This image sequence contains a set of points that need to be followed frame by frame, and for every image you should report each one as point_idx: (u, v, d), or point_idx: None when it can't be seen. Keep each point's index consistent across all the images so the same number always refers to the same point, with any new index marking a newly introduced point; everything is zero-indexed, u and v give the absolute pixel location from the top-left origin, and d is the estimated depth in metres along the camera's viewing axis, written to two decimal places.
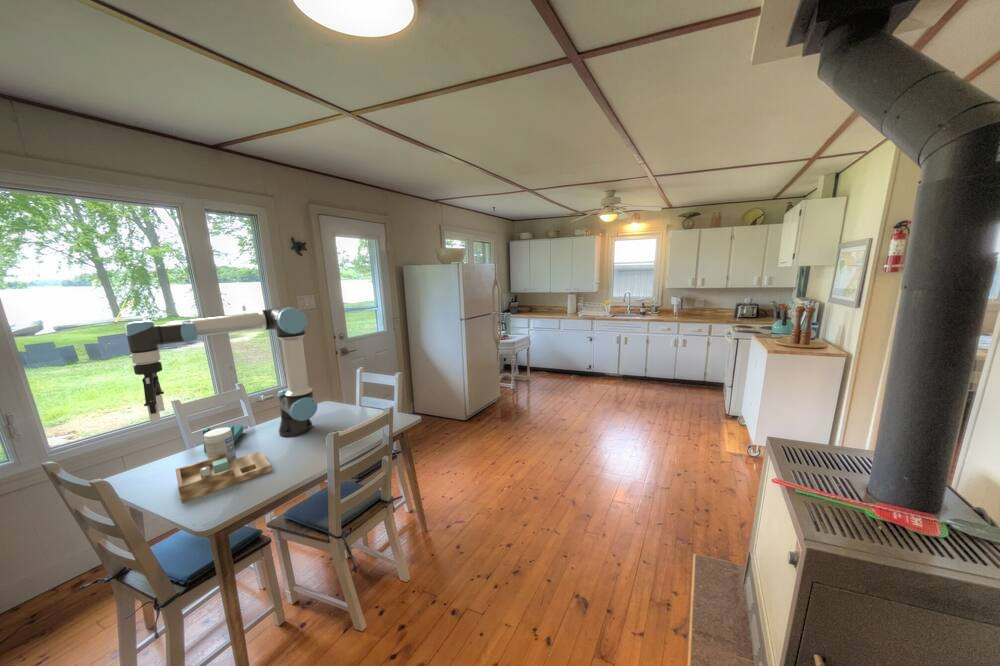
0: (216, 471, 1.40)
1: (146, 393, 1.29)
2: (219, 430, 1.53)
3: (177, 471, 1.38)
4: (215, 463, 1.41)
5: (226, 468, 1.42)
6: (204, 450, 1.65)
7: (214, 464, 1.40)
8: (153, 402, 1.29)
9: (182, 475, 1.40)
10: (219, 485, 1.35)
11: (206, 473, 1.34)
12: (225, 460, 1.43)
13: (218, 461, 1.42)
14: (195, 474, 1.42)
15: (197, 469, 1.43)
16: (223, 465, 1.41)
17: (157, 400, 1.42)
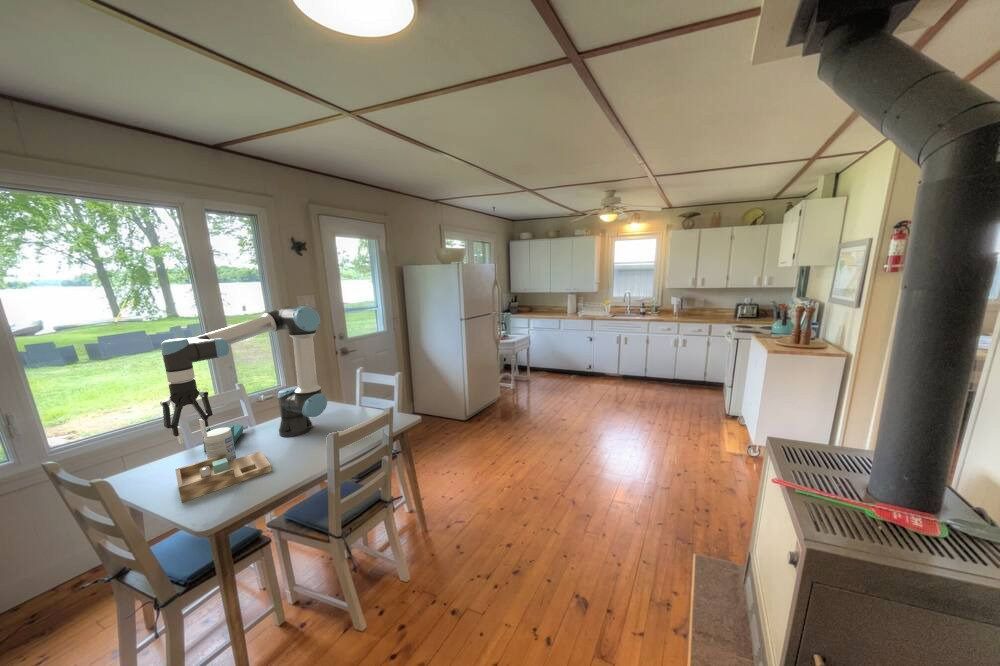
0: (216, 471, 1.40)
1: (163, 416, 1.28)
2: (219, 430, 1.53)
3: (177, 471, 1.38)
4: (215, 463, 1.41)
5: (226, 468, 1.42)
6: (204, 450, 1.65)
7: (214, 464, 1.40)
8: (166, 426, 1.28)
9: (182, 475, 1.40)
10: (219, 485, 1.35)
11: (206, 473, 1.34)
12: (225, 460, 1.43)
13: (218, 461, 1.42)
14: (195, 474, 1.42)
15: (197, 469, 1.43)
16: (223, 465, 1.41)
17: (201, 424, 1.37)
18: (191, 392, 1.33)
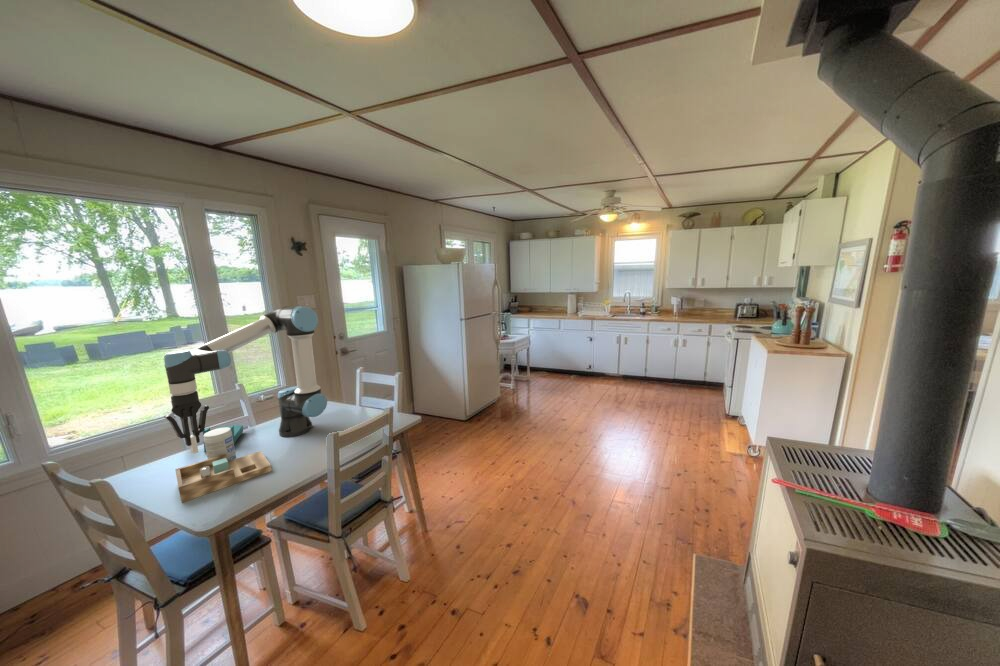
0: (216, 471, 1.40)
1: (173, 428, 1.31)
2: (219, 430, 1.53)
3: (177, 471, 1.38)
4: (215, 463, 1.41)
5: (226, 468, 1.42)
6: (204, 450, 1.65)
7: (214, 464, 1.40)
8: (179, 436, 1.31)
9: (182, 475, 1.40)
10: (219, 485, 1.35)
11: (206, 473, 1.34)
12: (225, 460, 1.43)
13: (218, 461, 1.42)
14: (195, 474, 1.42)
15: (197, 469, 1.43)
16: (223, 465, 1.41)
17: None
18: (194, 402, 1.34)
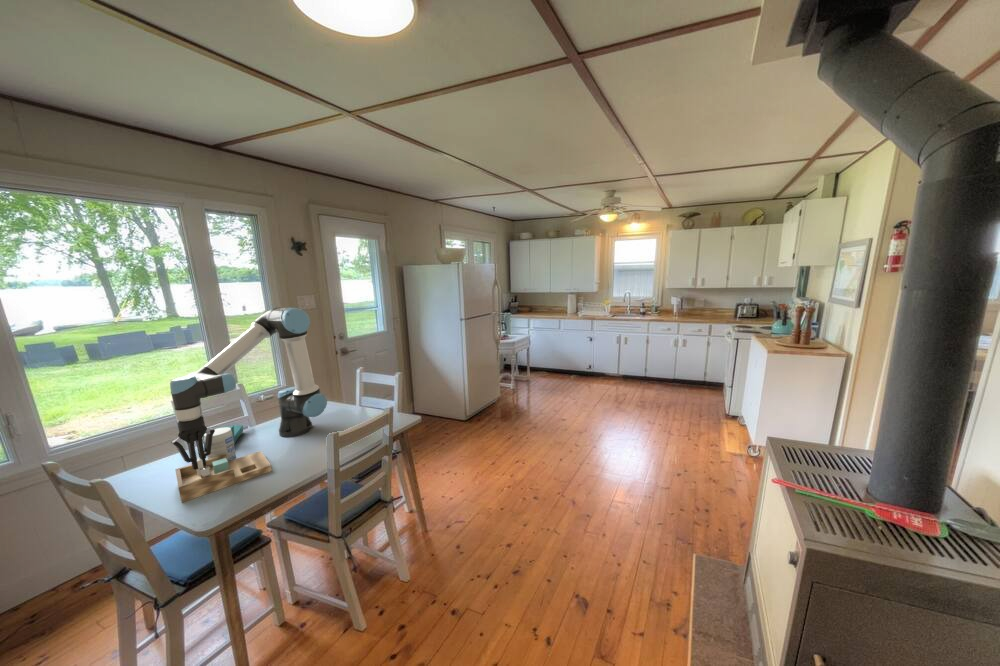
0: (216, 471, 1.40)
1: (180, 453, 1.33)
2: (219, 430, 1.53)
3: (177, 471, 1.38)
4: (215, 463, 1.41)
5: (226, 468, 1.42)
6: None
7: (214, 464, 1.40)
8: (186, 461, 1.33)
9: (182, 475, 1.40)
10: (219, 485, 1.35)
11: (206, 473, 1.34)
12: (225, 460, 1.43)
13: (218, 461, 1.42)
14: (195, 474, 1.42)
15: None
16: (223, 465, 1.41)
17: None
18: (200, 427, 1.36)
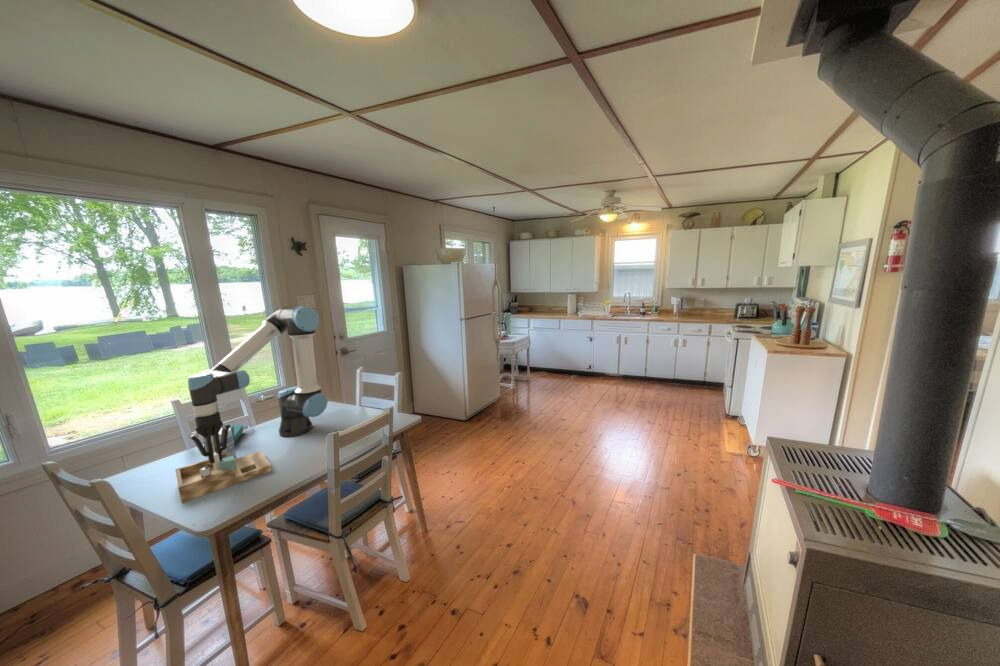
0: (223, 468, 1.41)
1: (197, 447, 1.37)
2: None
3: (177, 471, 1.38)
4: (222, 461, 1.42)
5: (233, 465, 1.43)
6: None
7: (221, 461, 1.42)
8: (203, 455, 1.38)
9: (182, 475, 1.40)
10: (219, 485, 1.35)
11: (206, 473, 1.34)
12: (232, 458, 1.45)
13: (225, 459, 1.44)
14: (195, 474, 1.42)
15: (197, 469, 1.43)
16: (230, 462, 1.43)
17: None
18: (216, 422, 1.41)
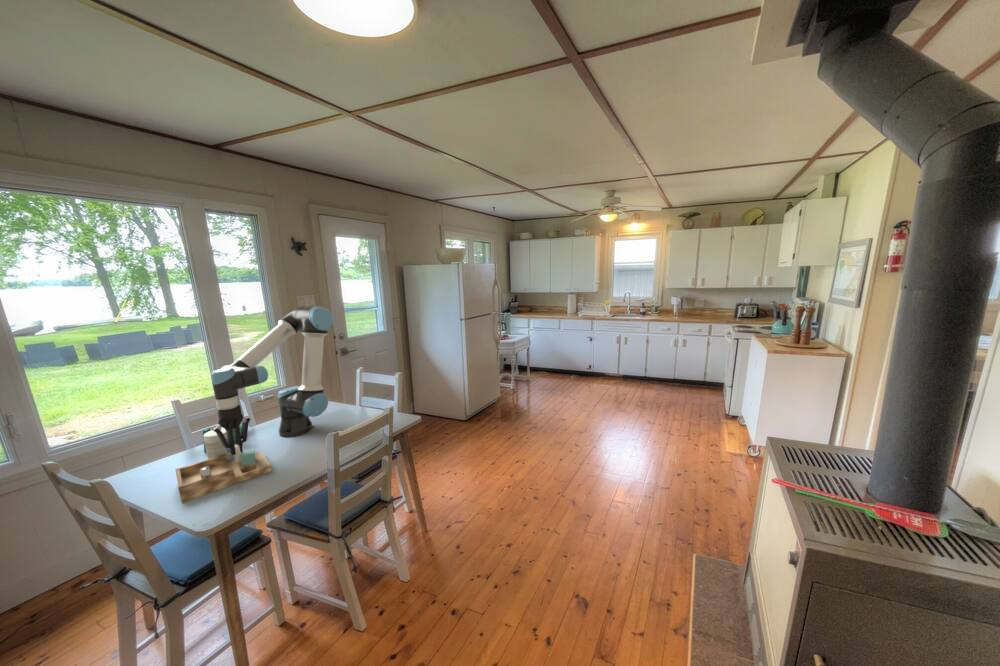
0: (242, 461, 1.46)
1: (220, 439, 1.44)
2: None
3: (177, 471, 1.38)
4: (242, 453, 1.48)
5: (252, 459, 1.48)
6: (204, 450, 1.65)
7: (241, 454, 1.47)
8: (226, 446, 1.44)
9: (182, 475, 1.40)
10: (219, 485, 1.35)
11: (206, 473, 1.34)
12: (252, 451, 1.49)
13: (246, 452, 1.49)
14: (195, 474, 1.42)
15: (197, 469, 1.43)
16: (249, 456, 1.47)
17: None
18: (237, 415, 1.47)
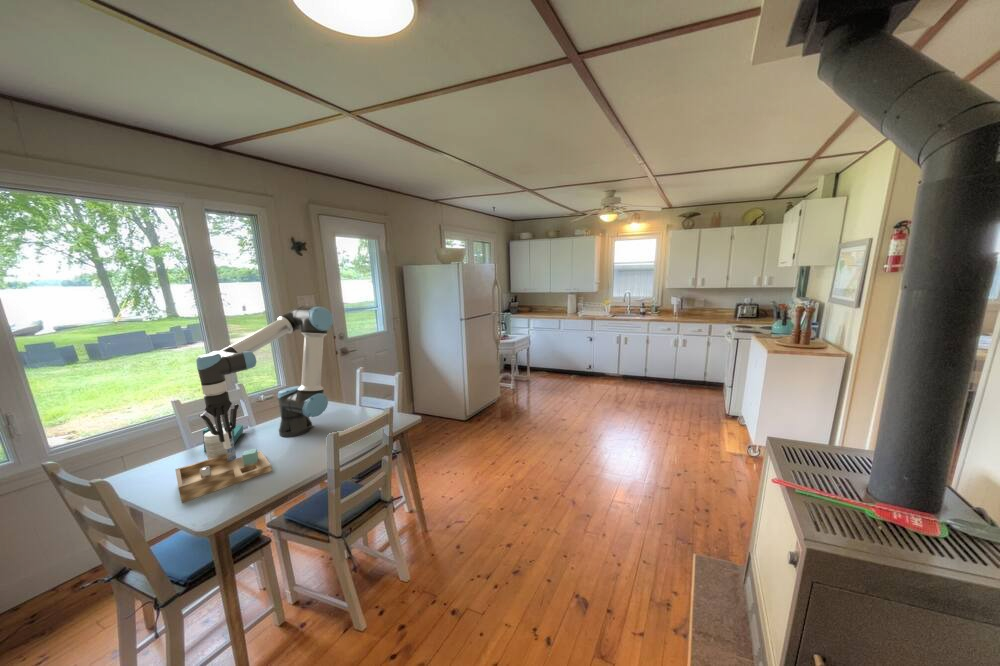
0: (244, 460, 1.47)
1: (207, 426, 1.40)
2: None
3: (177, 471, 1.38)
4: (244, 453, 1.48)
5: (253, 459, 1.48)
6: (204, 450, 1.65)
7: (243, 453, 1.48)
8: (214, 433, 1.40)
9: (182, 475, 1.40)
10: (219, 485, 1.35)
11: (206, 473, 1.34)
12: (254, 451, 1.50)
13: (248, 451, 1.49)
14: (195, 474, 1.42)
15: (197, 469, 1.43)
16: (251, 455, 1.48)
17: None
18: (225, 402, 1.43)
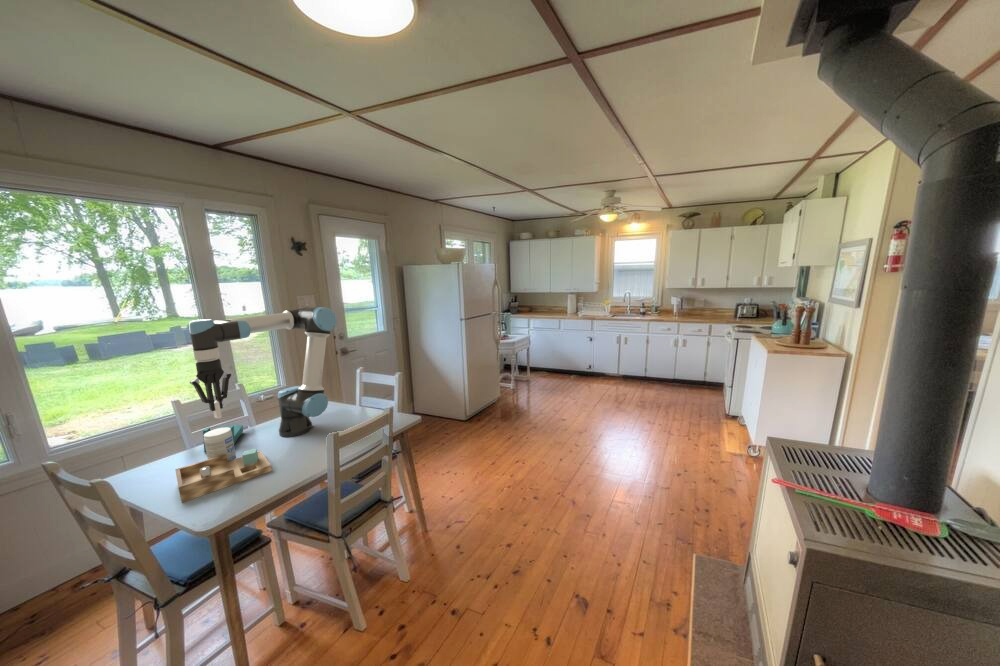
0: (244, 460, 1.47)
1: (198, 393, 1.37)
2: (219, 430, 1.53)
3: (177, 471, 1.38)
4: (244, 453, 1.48)
5: (253, 459, 1.48)
6: (204, 450, 1.65)
7: (243, 453, 1.48)
8: (204, 401, 1.37)
9: (182, 475, 1.40)
10: (219, 485, 1.35)
11: (206, 473, 1.34)
12: (254, 451, 1.50)
13: (248, 451, 1.49)
14: (195, 474, 1.42)
15: (197, 469, 1.43)
16: (251, 455, 1.48)
17: None
18: (217, 369, 1.40)
